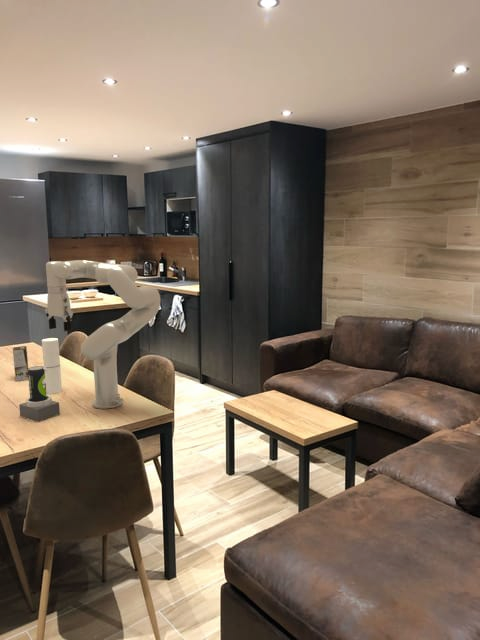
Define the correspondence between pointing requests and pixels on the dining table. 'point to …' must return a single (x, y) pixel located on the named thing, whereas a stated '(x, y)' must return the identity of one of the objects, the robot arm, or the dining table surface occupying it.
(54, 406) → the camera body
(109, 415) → the dining table surface
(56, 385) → the cylindrical container
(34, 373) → the beverage can
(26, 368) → the coffee box
